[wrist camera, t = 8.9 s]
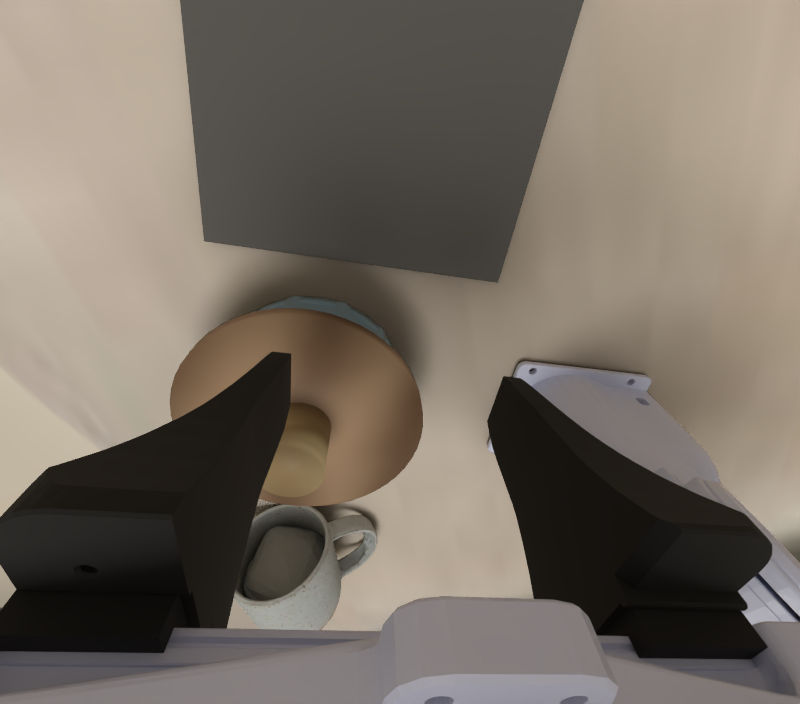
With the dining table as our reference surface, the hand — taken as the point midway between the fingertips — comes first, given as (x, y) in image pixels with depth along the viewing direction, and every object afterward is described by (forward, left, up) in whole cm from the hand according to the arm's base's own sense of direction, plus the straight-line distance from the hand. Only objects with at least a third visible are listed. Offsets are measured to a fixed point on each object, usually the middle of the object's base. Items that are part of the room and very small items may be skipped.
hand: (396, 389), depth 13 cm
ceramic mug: (+3, +23, -11) cm, 26 cm away
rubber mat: (+2, -8, -10) cm, 13 cm away
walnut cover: (+4, +7, -6) cm, 10 cm away
